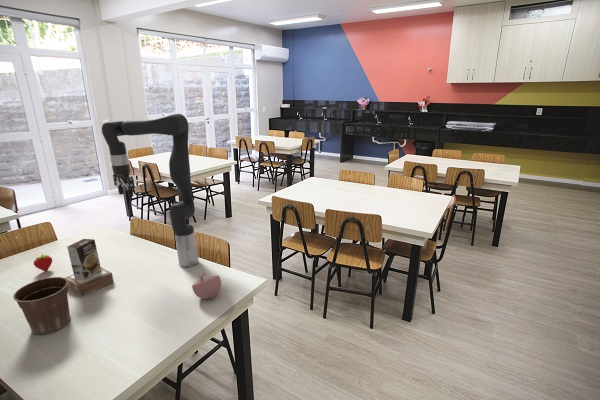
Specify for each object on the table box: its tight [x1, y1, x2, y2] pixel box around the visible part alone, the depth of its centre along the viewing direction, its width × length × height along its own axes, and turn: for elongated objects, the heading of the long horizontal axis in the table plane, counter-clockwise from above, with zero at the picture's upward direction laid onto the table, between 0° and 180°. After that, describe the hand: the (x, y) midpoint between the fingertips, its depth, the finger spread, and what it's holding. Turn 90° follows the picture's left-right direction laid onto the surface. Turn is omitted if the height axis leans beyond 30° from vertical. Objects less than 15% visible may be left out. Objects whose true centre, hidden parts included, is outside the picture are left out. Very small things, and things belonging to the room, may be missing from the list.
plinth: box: [64, 267, 115, 298], centre depth 152 cm, size 14×14×5 cm
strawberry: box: [33, 253, 53, 272], centre depth 164 cm, size 6×8×10 cm
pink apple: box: [191, 271, 222, 300], centre depth 140 cm, size 12×12×12 cm
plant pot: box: [12, 276, 71, 336], centre depth 124 cm, size 16×16×16 cm
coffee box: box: [66, 238, 101, 280], centre depth 148 cm, size 9×6×16 cm
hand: (126, 195), depth 164 cm, fingers open, 8 cm apart
